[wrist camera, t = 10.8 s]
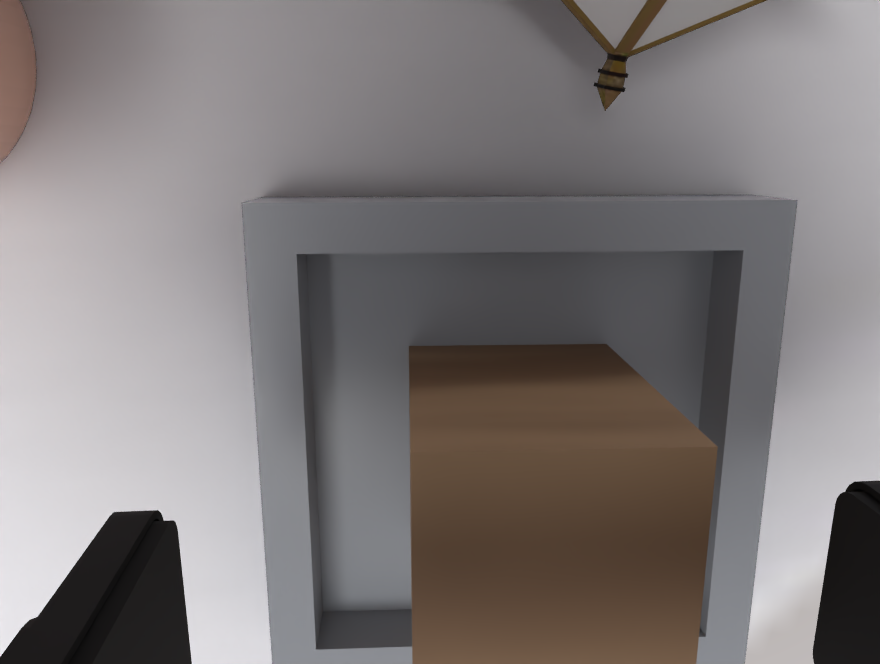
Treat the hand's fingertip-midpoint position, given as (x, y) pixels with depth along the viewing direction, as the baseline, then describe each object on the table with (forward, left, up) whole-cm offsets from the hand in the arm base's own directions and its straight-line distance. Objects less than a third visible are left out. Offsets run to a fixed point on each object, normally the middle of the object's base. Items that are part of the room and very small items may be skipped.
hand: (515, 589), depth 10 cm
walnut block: (+1, +1, -7) cm, 7 cm away
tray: (0, +1, -7) cm, 8 cm away
